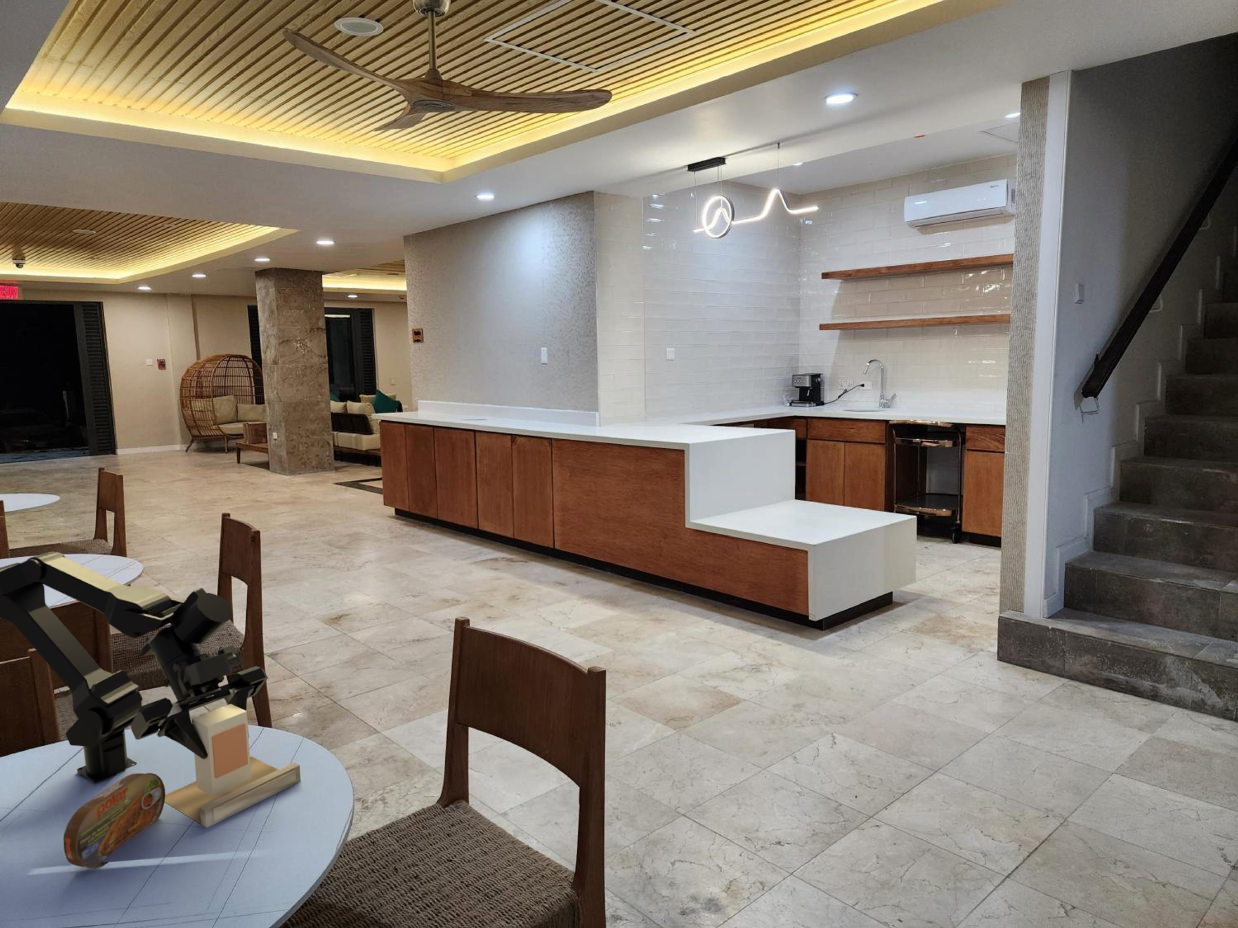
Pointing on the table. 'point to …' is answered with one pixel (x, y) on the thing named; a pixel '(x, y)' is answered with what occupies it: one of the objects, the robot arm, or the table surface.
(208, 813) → the shelf
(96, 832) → the tin
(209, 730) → the carton
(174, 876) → the table surface
